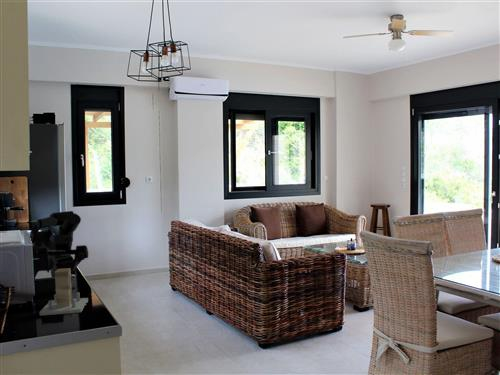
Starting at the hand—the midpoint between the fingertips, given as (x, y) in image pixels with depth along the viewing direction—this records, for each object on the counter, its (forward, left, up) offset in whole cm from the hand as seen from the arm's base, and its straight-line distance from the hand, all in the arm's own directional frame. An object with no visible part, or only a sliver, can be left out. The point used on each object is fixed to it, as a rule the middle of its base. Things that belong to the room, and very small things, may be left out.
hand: (60, 271), depth 184 cm
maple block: (+7, +7, -11) cm, 14 cm away
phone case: (-34, -35, -12) cm, 50 cm away
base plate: (+7, +7, -12) cm, 15 cm away
